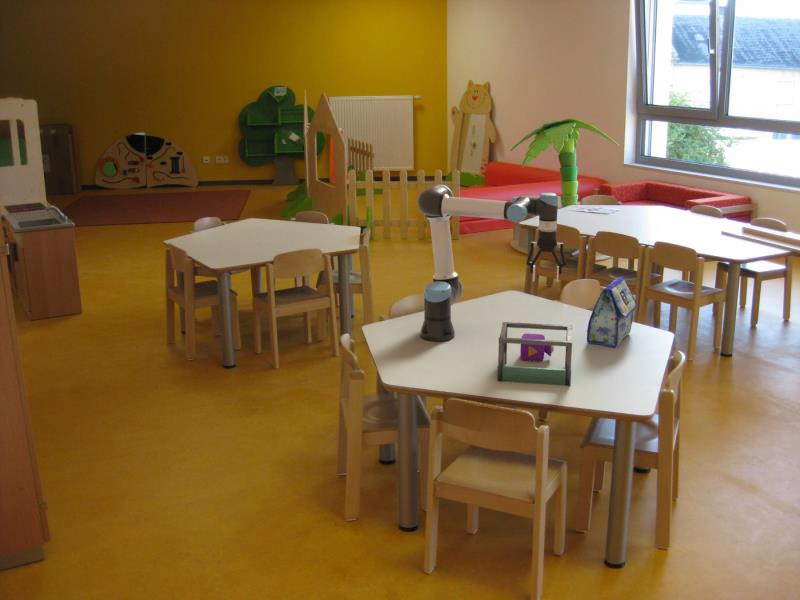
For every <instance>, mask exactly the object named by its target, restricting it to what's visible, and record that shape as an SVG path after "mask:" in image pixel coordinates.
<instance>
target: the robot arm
mask: <svg viewBox="0 0 800 600" xmlns="http://www.w3.org/2000/svg"><path fill="white" fill-rule="evenodd" d="M558 203H559V201H558V195H557V194H556V193H554V192H541V193H540V195H539V196H538V197H528V196H527V197H526V196H513V197H512V198H511V201H507V200H495V199H484V198H483V199H482V198H471V197H458V196H454V193H453V192H452V190H451V189H450V188H449V187H448V186H447V185H444V184H433V185H431V186H430V187H428V188H426V189H424V190H422V191H421V192H420V193H419V194H418V198H417V206H418V209H419V211H420V212H421V213H422V214H424V215H425V218H426V219H427V220H428V221H429V225H430V227H429V228H430V235H431V236H430V237H431V244H432V245H431V246H432V253H433V254H432V255H433V263H434V274H433V275H432V282H429V283H428V284H427V285H425V286H424V292H423V296H424V297H423V298H424V299H423V300H424V301H423V302H424V303H423V305H424V306H423V307H424V308H423V309H424V312H423V313H424V316H423V317H424V318H423V319H424V320H423V323H422V325H421V328H420V331H419V332H420V338H421V339H423V340H425V341H431V342H445V341H446V342H447V341H450V340H452V339H455V336H456V335H455V333H456V332H455V331H456V330H455V329H454V325H453V322H452V306H453V305H454V304H455V303H457V301H459V299H460V298H461V296H462V294H463V285H462V282H461V281H460V280H459V274H458V272H456V271H455V265H454V264H455V263H454V255H453V254H454V253H453V246H452V243H453V242H452V234H451V227H450V225H451V224H450V218H451V217H452V216H462V217H474V218H475V217H476V218H484V219H495V220H497V219H499V220H508V221H510V222H513V223H519V222H523V220H525V219H526V218H527V217H528V216H537V217H538V229H539V230H538V238H537V239H538V240H537V241H530V249H529V253H528V256H527V258H526V266H529V267H530V271H529V272H530V274H532V282H535V280H536V265H535V263H536V262H537V260H538V258H539V257H540V255H541V254H542V252H544V253H545V252H548V253H550V252H551V254H552V256H553V258H554V260H555V262H556V263H557V266H556V280H555V281H556V283H559V275H562V271H563V270H562V268H564V267H566V266H567V262H566V255H565V253H564V242H557V228H558V211H559V210H558V206H559V204H558ZM536 246H538V248H539V249H538V250H537V252H536V254H535V256H534V258H533V259H532V256H533V253H534V249H535V248H536ZM556 246H557V247H558V248H559V252H560V257H561V259H560V258H559V256H558V254H557V252H556V250H555V248H556ZM531 259H532V261H531ZM561 261H562V262H561Z"/></svg>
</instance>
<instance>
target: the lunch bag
mask: <svg viewBox="0 0 800 600" xmlns="http://www.w3.org/2000/svg"><path fill="white" fill-rule="evenodd" d="M637 306H638V304H637V301H636V298H635V297H634V295H633V294H632V292H631V290H630V287H629V286H628V282H627V280H626V278H625V277H624V276H618V277H617V278H616V279H614V280H613V281H612V282H611V283H609V284H607V285H606V286H605V287H604V288H603V289H602V290H601V292H600V293H599V295H598V297H597V300H596V302H595V304H594V307H593V310H592V312H591V315H590V317H589V320H588V325H587V330H586V343H588V344H590V345H591V344H593V345H594V344H595V345H602V346H606V347H610V348H613V349H616V348H618V346H619V345H620V343H621V342H622V340H623V339H624V338H626V336H628V335H630V334H631V329H632V326H633V317H634V311H635V310H636V308H637Z"/></svg>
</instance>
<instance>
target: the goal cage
mask: <svg viewBox="0 0 800 600" xmlns="http://www.w3.org/2000/svg"><path fill="white" fill-rule="evenodd" d="M501 324H502V325H501V330H500V333H499V337H498V357H497V360H498V363H497V371H496V372H497V375H496V381H497V382H510V383H519V384H520V383H522V384H523V383H524V384H536V385H537V384H539V385H541V384H542V385H553V386H554V385H555V386H566V387H569V386H570V387H571V384H572V383H571V381H572V355H573V354H572V350H573V340H572V339H573V337H572V335H573V325H567V324H566V325H565V324H551V323H549V324H548V323H526V322H524V323H523V322H509V321H503V322H502V323H501ZM508 328H510V329H511V328H513V329H531V330H533V329H534V330H548V331H549V330H551V331H553V330H554V331H556V330H557V331H566V337H565V340H556V339H555V340H554V339H545V340H541V339H522V337H521V338H519V337H517V338H516V337H508ZM508 344H516V345H517V344H518V345H519V344H520V345H521V344H532V345H551V346H555V347H565V355H564V356H565V358H564V360H565V362H564V368H548V367H547V368H546V367H535V366H534V367H532V366H517V365H516V366H515V365H506V364H507V363H508V362H507V359H508V357H507V356H508V355H507V354H508Z"/></svg>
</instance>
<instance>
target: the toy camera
mask: <svg viewBox="0 0 800 600" xmlns="http://www.w3.org/2000/svg"><path fill="white" fill-rule="evenodd" d="M521 338H522V339H541V340H546V338H545V335H544V334H541V333H539V334H538V333H530V332H525V333H523V334H522V336H521ZM554 350H555V347H554V346H551V345H532V344H520V356H519V357H520V360H521V361H523V362H543V360H544V359H545V354H546V355H547V356H549V357H551V356H552V353H554Z"/></svg>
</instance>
